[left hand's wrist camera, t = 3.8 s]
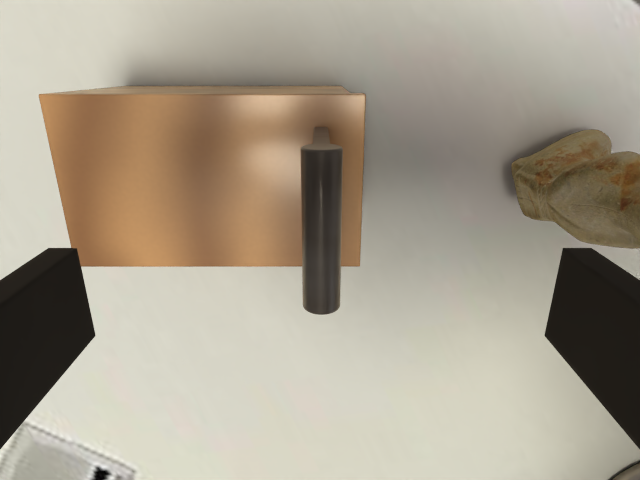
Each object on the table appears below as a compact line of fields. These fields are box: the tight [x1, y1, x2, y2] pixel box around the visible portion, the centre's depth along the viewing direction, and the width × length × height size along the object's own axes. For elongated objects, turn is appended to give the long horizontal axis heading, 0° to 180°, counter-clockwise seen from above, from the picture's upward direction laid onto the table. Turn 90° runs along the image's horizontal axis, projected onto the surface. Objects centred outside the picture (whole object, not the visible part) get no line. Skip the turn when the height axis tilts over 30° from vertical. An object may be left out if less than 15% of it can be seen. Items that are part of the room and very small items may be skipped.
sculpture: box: [511, 130, 640, 248], centre depth 27 cm, size 6×7×15 cm
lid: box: [39, 93, 366, 315], centre depth 20 cm, size 16×9×9 cm, turn 90°
